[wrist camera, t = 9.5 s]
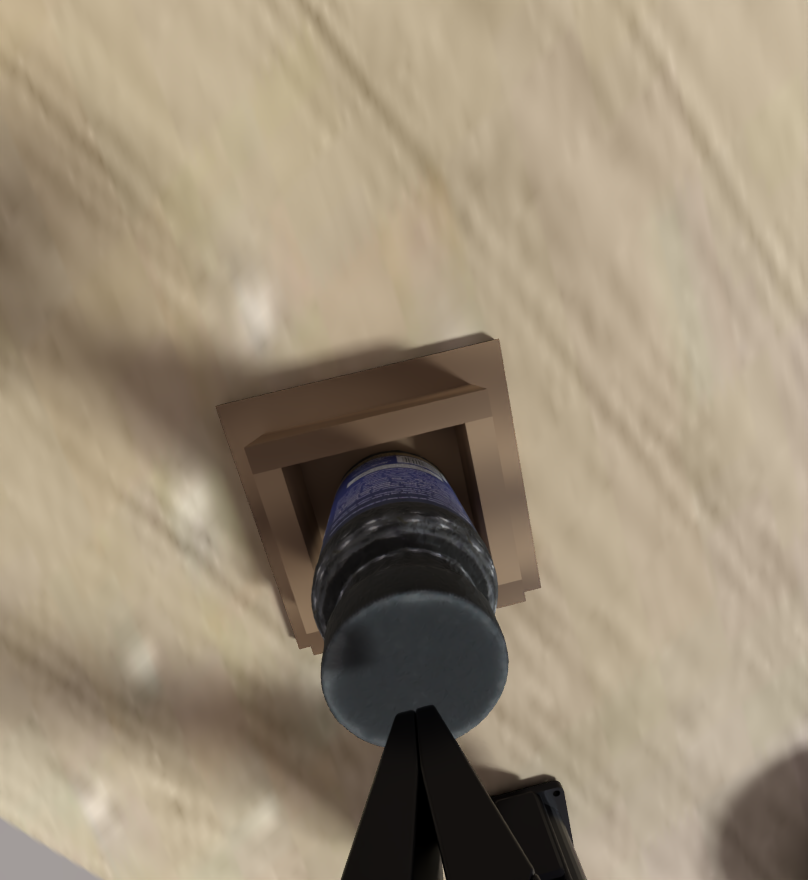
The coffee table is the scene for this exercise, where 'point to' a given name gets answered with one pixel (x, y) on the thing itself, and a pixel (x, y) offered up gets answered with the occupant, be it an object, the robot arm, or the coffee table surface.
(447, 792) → the robot arm
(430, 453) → the walnut holder
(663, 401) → the coffee table surface
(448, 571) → the pill bottle
